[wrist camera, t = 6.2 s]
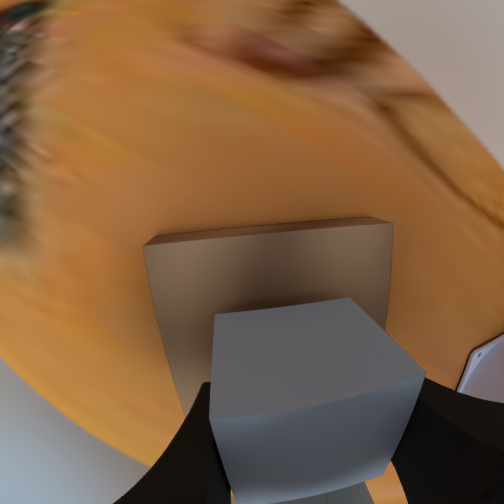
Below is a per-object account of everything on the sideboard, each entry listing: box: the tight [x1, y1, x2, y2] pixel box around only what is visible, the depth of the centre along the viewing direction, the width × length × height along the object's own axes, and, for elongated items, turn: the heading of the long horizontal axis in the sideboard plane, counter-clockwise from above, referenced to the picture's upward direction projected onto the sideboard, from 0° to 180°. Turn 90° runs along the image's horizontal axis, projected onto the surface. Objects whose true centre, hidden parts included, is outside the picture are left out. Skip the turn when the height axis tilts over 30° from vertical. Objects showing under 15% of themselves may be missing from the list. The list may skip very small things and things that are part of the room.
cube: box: [209, 297, 426, 504], centre depth 8 cm, size 5×5×5 cm
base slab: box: [143, 217, 393, 417], centre depth 12 cm, size 10×10×2 cm
